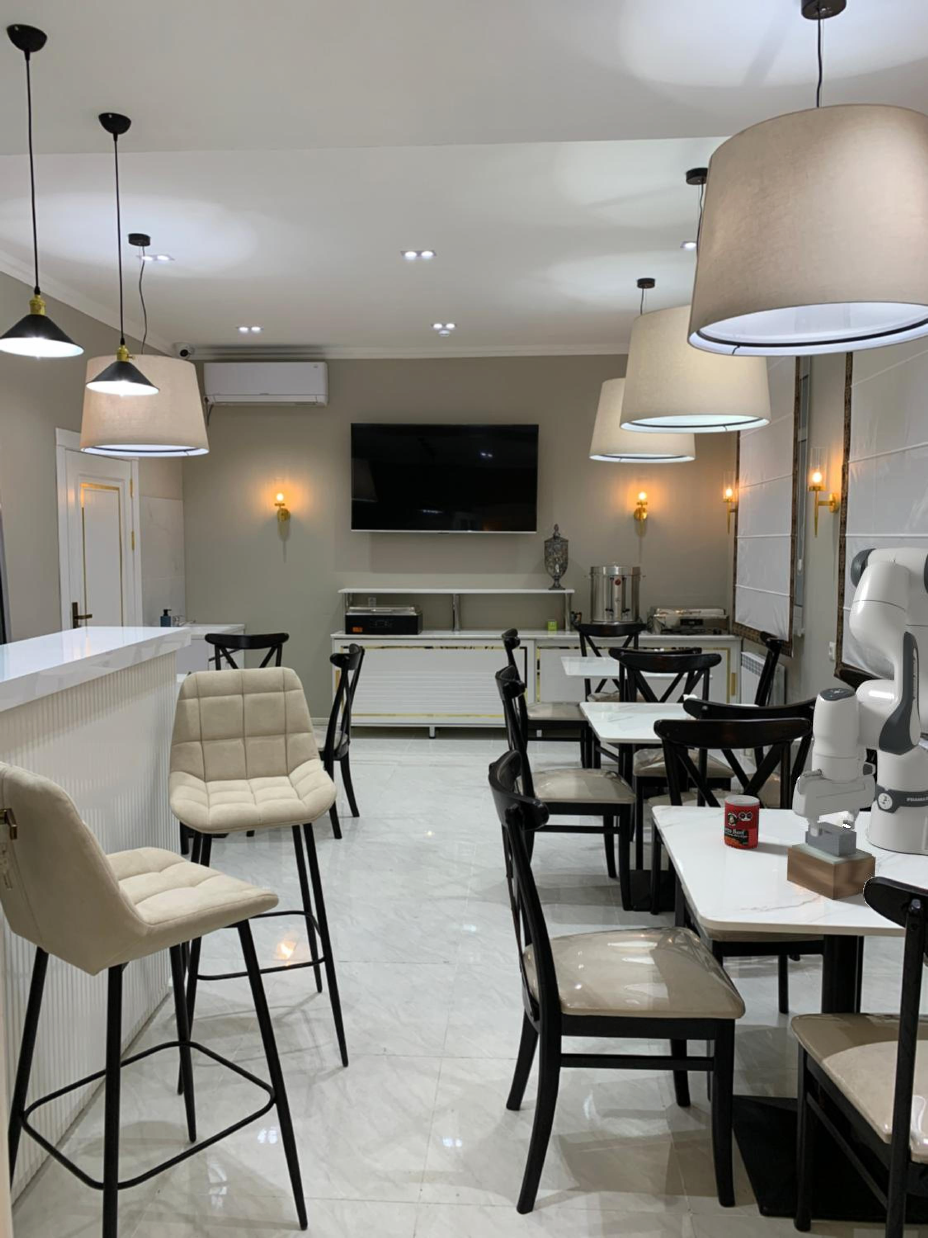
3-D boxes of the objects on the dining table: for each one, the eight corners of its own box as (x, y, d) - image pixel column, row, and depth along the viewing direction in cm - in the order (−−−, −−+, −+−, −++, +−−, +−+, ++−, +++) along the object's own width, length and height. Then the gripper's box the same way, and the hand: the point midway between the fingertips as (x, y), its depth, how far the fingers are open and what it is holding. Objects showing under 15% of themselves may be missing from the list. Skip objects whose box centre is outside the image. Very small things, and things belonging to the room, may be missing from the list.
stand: (827, 871, 193) (828, 837, 193) (874, 890, 183) (875, 854, 182) (786, 880, 188) (788, 845, 188) (832, 900, 177) (834, 862, 177)
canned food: (717, 843, 212) (718, 798, 211) (737, 837, 217) (739, 793, 216) (744, 852, 206) (745, 805, 205) (764, 845, 211) (766, 800, 210)
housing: (855, 853, 182) (856, 832, 182) (838, 857, 180) (839, 835, 180) (818, 840, 191) (819, 819, 191) (801, 843, 189) (802, 822, 188)
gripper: (810, 776, 176) (808, 844, 177) (881, 765, 185) (878, 830, 186) (786, 769, 182) (784, 835, 183) (856, 759, 191) (853, 821, 192)
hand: (832, 832), depth 185 cm, fingers open, 8 cm apart
